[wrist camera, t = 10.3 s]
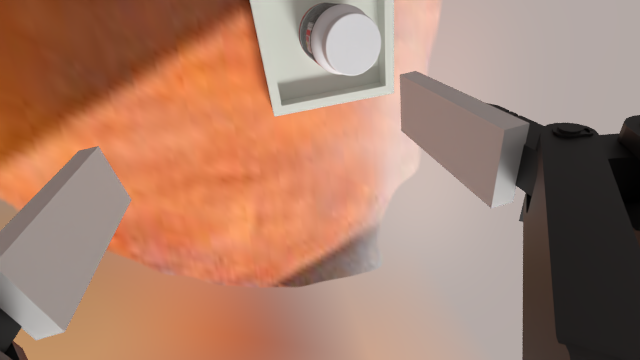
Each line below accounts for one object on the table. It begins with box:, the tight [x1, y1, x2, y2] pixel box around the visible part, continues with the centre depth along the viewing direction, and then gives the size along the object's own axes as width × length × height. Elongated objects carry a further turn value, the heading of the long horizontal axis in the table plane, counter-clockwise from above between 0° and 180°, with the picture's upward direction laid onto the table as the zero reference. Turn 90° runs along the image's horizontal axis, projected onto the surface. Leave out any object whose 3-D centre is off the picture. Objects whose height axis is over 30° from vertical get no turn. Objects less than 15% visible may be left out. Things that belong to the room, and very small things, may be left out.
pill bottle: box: [299, 3, 381, 76], centre depth 29 cm, size 6×6×10 cm
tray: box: [249, 0, 394, 116], centre depth 33 cm, size 14×14×2 cm
